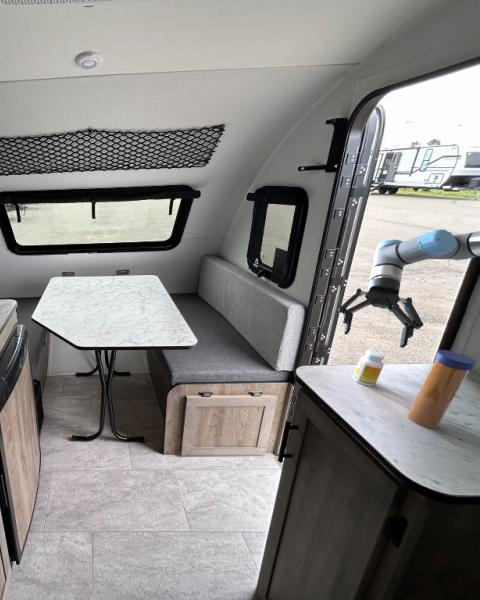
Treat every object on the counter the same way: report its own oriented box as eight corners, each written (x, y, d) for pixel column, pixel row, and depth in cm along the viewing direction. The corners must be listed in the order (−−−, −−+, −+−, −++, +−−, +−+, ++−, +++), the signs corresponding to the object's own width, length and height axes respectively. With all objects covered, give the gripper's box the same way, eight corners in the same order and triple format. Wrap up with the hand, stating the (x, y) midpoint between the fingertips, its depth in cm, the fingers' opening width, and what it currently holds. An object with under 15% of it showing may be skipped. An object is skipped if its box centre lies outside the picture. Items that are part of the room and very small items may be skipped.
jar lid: (467, 362, 78) (470, 355, 77) (477, 373, 73) (481, 367, 72) (431, 353, 81) (434, 347, 80) (438, 364, 76) (442, 357, 76)
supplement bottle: (379, 386, 97) (392, 358, 94) (364, 387, 96) (377, 358, 93) (362, 375, 102) (373, 348, 99) (347, 376, 101) (359, 349, 98)
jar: (433, 419, 84) (467, 357, 77) (440, 431, 80) (477, 367, 73) (404, 410, 87) (435, 350, 80) (409, 422, 82) (442, 359, 76)
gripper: (430, 296, 103) (423, 356, 97) (335, 280, 116) (322, 332, 110) (443, 284, 97) (436, 347, 91) (341, 268, 110) (328, 322, 104)
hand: (374, 339), depth 100 cm, fingers open, 13 cm apart
